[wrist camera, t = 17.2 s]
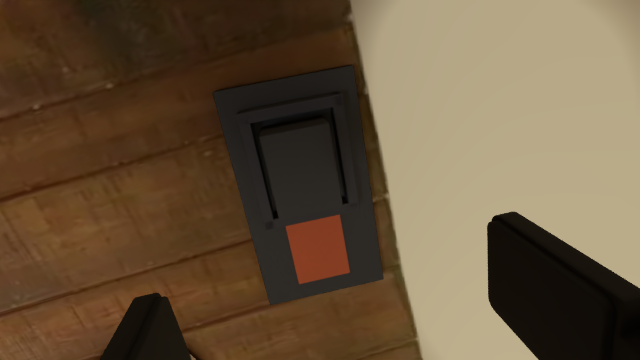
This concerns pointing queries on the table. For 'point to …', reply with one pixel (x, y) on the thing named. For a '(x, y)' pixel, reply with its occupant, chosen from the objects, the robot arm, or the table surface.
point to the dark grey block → (301, 167)
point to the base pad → (316, 229)
